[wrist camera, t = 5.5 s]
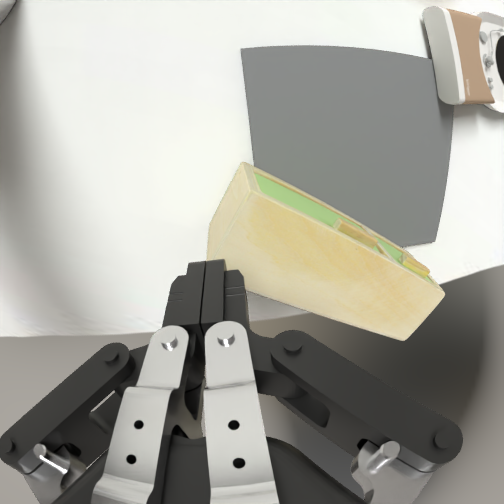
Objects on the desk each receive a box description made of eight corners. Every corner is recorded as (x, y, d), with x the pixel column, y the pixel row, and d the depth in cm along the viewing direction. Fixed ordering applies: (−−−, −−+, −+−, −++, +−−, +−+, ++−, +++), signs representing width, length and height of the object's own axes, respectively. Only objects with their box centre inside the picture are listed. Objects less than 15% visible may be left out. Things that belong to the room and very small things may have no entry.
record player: (437, -7, 12) (539, 30, 11) (417, -2, 14) (522, 28, 14) (461, 119, 18) (549, 116, 17) (439, 113, 21) (533, 110, 20)
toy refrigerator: (246, 151, 23) (413, 247, 29) (208, 224, 26) (375, 296, 32) (256, 177, 16) (452, 290, 22) (203, 275, 19) (403, 344, 25)
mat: (240, 49, 18) (241, 48, 18) (449, 64, 18) (452, 64, 18) (264, 262, 30) (265, 265, 29) (432, 239, 29) (435, 241, 29)
